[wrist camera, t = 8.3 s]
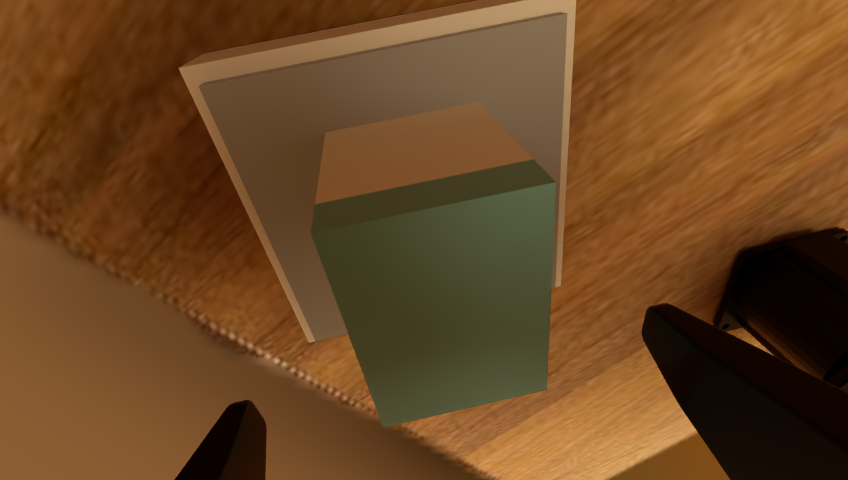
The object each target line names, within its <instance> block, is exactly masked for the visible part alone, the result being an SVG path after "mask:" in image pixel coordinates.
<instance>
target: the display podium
mask: <svg viewBox="0 0 848 480" xmlns="http://www.w3.org/2000/svg"><path fill="white" fill-rule="evenodd" d="M575 14H576V0H475V1H470V2H465V3H460V4H455V5H450V6H445V7H439V8H434V9H429V10H424V11H419V12H414V13H409V14H404V15H398V16H393V17H388V18H383V19H378V20H373V21H368V22H362V23H357V24H352V25H347V26H342V27H337V28H332V29H326V30H321V31H316V32H311V33H306V34H301V35H296V36H291V37H285V38H280V39H275V40H270V41H265V42H260V43H255V44H249V45H244V46H239V47H234V48H229V49H224V50H219V51H214V52H208V53H204V54H202V55H200V56H198V57H197V58H195V59H193V60H191V61H190V62H188V63H186V64H185V65H183V66H181V67H179V71H180V73H181V75H182V77H183V79H184V81H185V83H186V85H187V87H188V89H189V92H190V94H191V96H192V98H193V100H194V102H195V104H196V106H197V108H198V110H199V113H200V115H201V117H202V119H203V121H204V123H205V125H206V127H207V129H208V132H209V134H210V136H211V138H212V140H213V142H214V144H215V146H216V148H217V150H218V153H219V155H220V157H221V159H222V161H223V163H224V165H225V167H226V169H227V171H228V174H229V176H230V178H231V180H232V182H233V184H234V186H235V188H236V190H237V192H238V195H239V197H240V199H241V201H242V203H243V205H244V207H245V209H246V211H247V214H248V216H249V218H250V220H251V222H252V224H253V226H254V228H255V230H256V232H257V235H258V237H259V239H260V241H261V243H262V245H263V247H264V249H265V251H266V253H267V256H268V258H269V260H270V262H271V264H272V266H273V268H274V270H275V272H276V275H277V277H278V279H279V281H280V283H281V285H282V287H283V289H284V291H285V293H286V296H287V298H288V300H289V302H290V304H291V306H292V308H293V310H294V312H295V314H296V317H297V319H298V321H299V323H300V325H301V327H302V329H303V331H304V333H305V335H306V338H307V340H308V342H309V343H310V342H315V341H319V340H324V339H328V338H333V337H337V336H342V335H346V334H348V332H347V329H346V326H345V324H344V321H343V318H342V316H341V313H340V310H339V308H338V305H337V302H336V300H335V297H334V294H333V292H332V289H331V286H330V284H329V281H328V278H327V276H326V273H325V270H324V268H323V265H322V262H321V260H320V257H319V254H318V252H317V249H316V246H315V243H314V241H313V238H312V235H311V228H312V221H313V214H314V207H315V200H316V193H317V186H318V179H319V172H320V166H321V159H322V152H323V145H324V138H325V132H329V131H334V130H339V129H344V128H350V127H355V126H360V125H365V124H370V123H375V122H380V121H385V120H390V119H395V118H400V117H405V116H410V115H415V114H420V113H425V112H430V111H435V110H440V109H445V108H450V107H455V106H461V105H466V104H471V103H476V102H478V103H479V104H480V105H481V106H482V107H483V108H484V109H485V110H486V111H487V112H488V113H489V114H490V115H491V116H492V117H493V118H494V119H495V120H496V121H497V122H498V123H499V124H500V125H501V126H502V127H503V128H504V129H505V130H506V131H507V132H508V133H509V135H510V136H511V137H512V138H513V139H514V140H515V141H516V142H517V143H518V144H519V145H520V146H521V147H522V148H523V149H524V150H525V151H526V152H527V153H528V154H529V155H530V156H531V157H532V158H533V159H534V160H535V161H536V162H537V163H538V164H539V165H540V166H541V167H542V168H543V169H544V170H545V171H546V172H547V173H548V174H549V176H550V177H551V178H552V179H553V180H554V181H555V182H556V192H555V215H554V237H553V260H552V282H551V288H554V287H559V286H561V273H562V255H563V236H564V218H565V199H566V181H567V162H568V144H569V125H570V106H571V88H572V69H573V51H574V32H575Z"/></svg>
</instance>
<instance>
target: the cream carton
mask: <svg viewBox="0 0 848 480" xmlns="http://www.w3.org/2000/svg"><path fill="white" fill-rule="evenodd" d="M555 192H556V182H555V181H554V180H553V179H552V178H551V177H550V176H549V174H548V173H547V172H546V171H545V170H544V169H543V168H542V167H541V166H540V165H539V164H538V163H537V162H536V161H535V160H534V159H533V158H532V157H531V156H530V155H529V154H528V153H527V152H526V151H525V150H524V149H523V148H522V147H521V146H520V145H519V144H518V143H517V142H516V141H515V140H514V139H513V138H512V137H511V136H510V135H509V133H508V132H507V131H506V130H505V129H504V128H503V127H502V126H501V125H500V124H499V123H498V122H497V121H496V120H495V119H494V118H493V117H492V116H491V115H490V114H489V113H488V112H487V111H486V110H485V109H484V108H483V107H482V106H481V105H480V104H479V103H478V102H476V103H471V104H466V105H461V106H455V107H450V108H445V109H440V110H435V111H430V112H425V113H420V114H415V115H410V116H405V117H400V118H395V119H390V120H385V121H380V122H375V123H370V124H365V125H360V126H355V127H350V128H344V129H339V130H334V131H329V132H325V138H324V145H323V152H322V159H321V166H320V172H319V179H318V186H317V193H316V200H315V207H314V214H313V221H312V228H311V235H312V238H313V241H314V243H315V246H316V249H317V252H318V254H319V257H320V260H321V262H322V265H323V268H324V270H325V273H326V276H327V278H328V281H329V284H330V286H331V289H332V292H333V294H334V297H335V300H336V302H337V305H338V308H339V310H340V313H341V316H342V318H343V321H344V324H345V326H346V329H347V332H348V334H349V337H350V340H351V342H352V345H353V348H354V350H355V353H356V356H357V358H358V361H359V364H360V366H361V369H362V372H363V374H364V377H365V380H366V382H367V385H368V388H369V390H370V393H371V396H372V399H373V401H374V404H375V407H376V409H377V412H378V415H379V417H380V420H381V423H382V425H383V427H388V426H392V425H396V424H401V423H405V422H409V421H414V420H418V419H422V418H427V417H431V416H435V415H440V414H444V413H448V412H452V411H457V410H461V409H465V408H470V407H474V406H478V405H483V404H487V403H491V402H496V401H500V400H504V399H509V398H513V397H517V396H522V395H526V394H530V393H534V392H539V391H543V390H547V372H548V350H549V327H550V305H551V282H552V260H553V237H554V215H555Z"/></svg>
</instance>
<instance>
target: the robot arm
mask: <svg viewBox="0 0 848 480" xmlns="http://www.w3.org/2000/svg"><path fill="white" fill-rule="evenodd" d="M742 327H743V328H744V329H745V330H746V331H748V332H749V333H750V334H751V335H752V336H753V337H754V338H755V339H756V340H757V341H759V342H760V343H761V344H762V345H763V346H764V347H765V348H766V349H767V350H768V351H770V352H771V353H772V354H773V355H774V356H773V355H771V354H769V353H767V352H765V351H763V350H761V349H759V348H757V347H755V346H753V345H751V344H749V343H747V342H745V341H743V340H741V339H739V338H737V337H735V336H733V335H731V334H729V333H727V332H725V331H729V330H734V329H738V328H742ZM642 337H643V340H644V342H645V344H646V346H647V348H648V350H649V351H650V353H651V355H652V357H653V359H654V360H655V362H656V364H657V366H658V368H659V370H660V371H661V373H662V375H663V377H664V379H665V381H666V382H667V384H668V386H669V388H670V390H671V392H672V393H673V395H674V397H675V398H676V400H677V402H678V403H679V405H680V407H681V408H682V410H683V411H684V413H685V414H686V416H687V417H688V418H689V420H690V421H691V423H692V424H693V426H694V427H695V429H696V430H697V432H698V433H699V435H700V436H701V437H702V439H703V440H704V442H705V443H706V445H707V446H708V448H709V449H710V451H711V452H712V453H713V455H714V456H715V458H716V459H717V461H718V462H719V464H720V465H721V467H722V468H723V470H724V471H725V472H726V474H727V475H728V477H729V478H730V480H848V231H846V230H844V229H843V228H841V229H836V230H831V231H827V232H822V233H818V234H813V235H809V236H805V237H800V238H796V239H791V240H787V241H783V242H778V243H774V244H769V245H765V246H760V247H756V248H752V249H748V250H745V251H744V252H742V253H741V254H740V255H739V257H738V260H737V262H736V265H735V268H734V270H733V273H732V276H731V278H730V281H729V284H728V287H727V289H726V292H725V295H724V297H723V300H722V303H721V305H720V308H719V311H718V313H717V316H716V319H715V322H714V325H711V324H709V323H707V322H705V321H703V320H701V319H699V318H697V317H695V316H693V315H691V314H689V313H687V312H685V311H683V310H681V309H679V308H677V307H675V306H673V305H670V304H667V303H663V304H658V305H654V306H650V307H649V308H648V309H647V310H646V314H645V319H644V323H643V327H642ZM266 432H267V431H266V423H265V420H264V418H263V417H262V415H261V414H260V412H259V411H258V410H257V408H256V407H255V405H254V404H253V403H252V401H250V400H244V401H239V402H235V403H232V404H230V405H229V406H228V407H227V408H226V410H225V411H224V412H223V414H222V415H221V417H220V418H219V419H218V421H217V422H216V423H215V425H214V426H213V427H212V429H211V430H210V432H209V433H208V434H207V436H206V437H205V439H204V440H203V441H202V443H201V444H200V446H199V447H198V448H197V450H196V451H195V452H194V454H193V455H192V456H191V458H190V459H189V461H188V462H187V463H186V465H185V466H184V467H183V469H182V470H181V472H180V473H179V474H178V476H177V477H176V478H175V480H265V472H266Z"/></svg>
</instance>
